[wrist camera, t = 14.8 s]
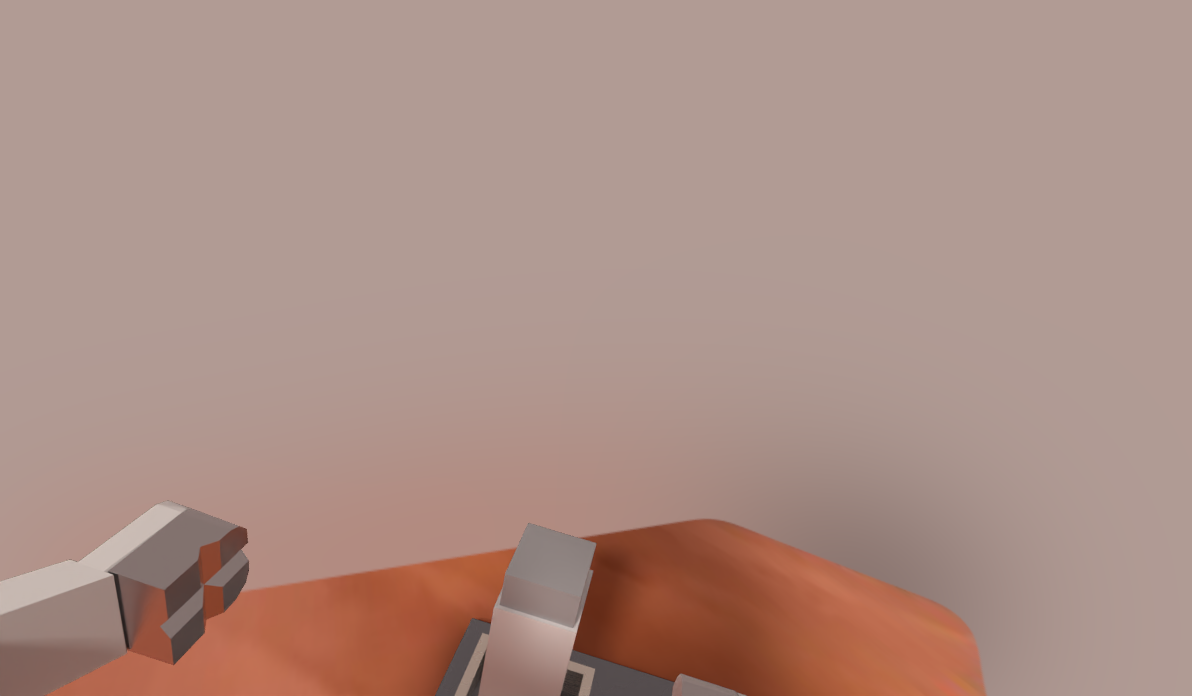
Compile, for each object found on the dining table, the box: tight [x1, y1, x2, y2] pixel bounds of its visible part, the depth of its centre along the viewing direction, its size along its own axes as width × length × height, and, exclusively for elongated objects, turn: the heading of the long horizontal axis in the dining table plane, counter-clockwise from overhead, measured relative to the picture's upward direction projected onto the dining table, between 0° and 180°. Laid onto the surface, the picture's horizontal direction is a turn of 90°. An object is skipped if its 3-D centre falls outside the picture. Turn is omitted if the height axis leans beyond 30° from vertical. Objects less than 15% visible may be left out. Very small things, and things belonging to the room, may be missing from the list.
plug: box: [478, 523, 596, 696], centre depth 32 cm, size 4×5×13 cm
